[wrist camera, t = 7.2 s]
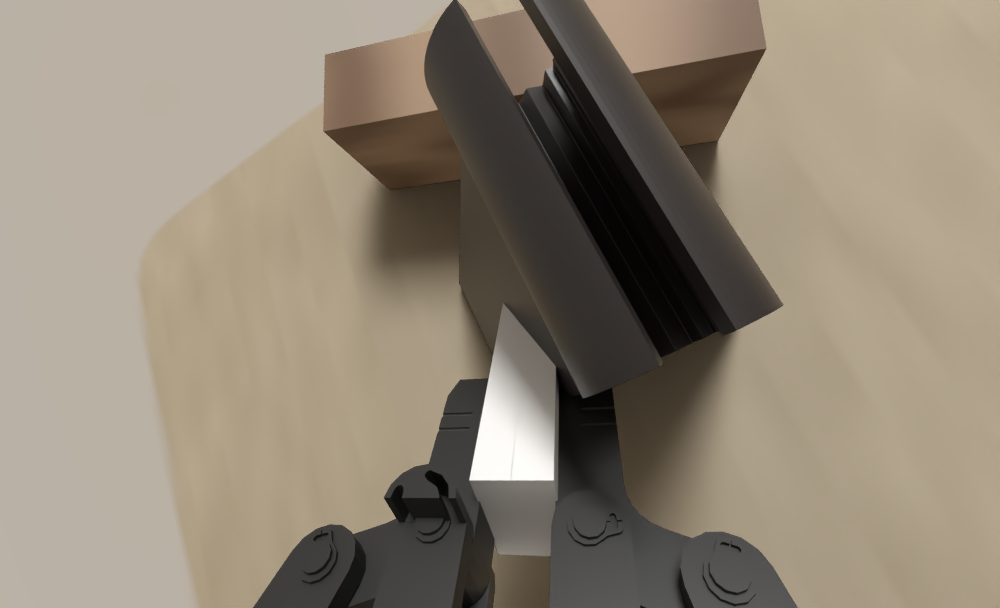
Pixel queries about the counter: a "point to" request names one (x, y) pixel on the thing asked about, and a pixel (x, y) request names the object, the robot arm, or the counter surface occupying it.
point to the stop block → (522, 62)
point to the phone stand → (584, 207)
